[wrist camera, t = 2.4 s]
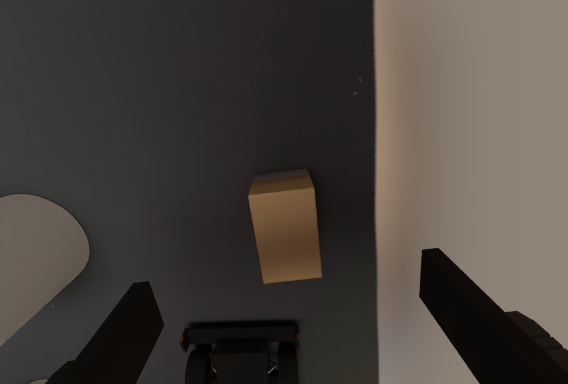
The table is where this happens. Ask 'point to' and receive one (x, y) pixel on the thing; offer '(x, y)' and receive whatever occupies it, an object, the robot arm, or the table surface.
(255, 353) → the toy truck
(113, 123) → the table surface
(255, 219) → the eraser
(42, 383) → the beverage cup
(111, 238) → the table surface
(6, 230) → the cup
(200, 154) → the table surface
